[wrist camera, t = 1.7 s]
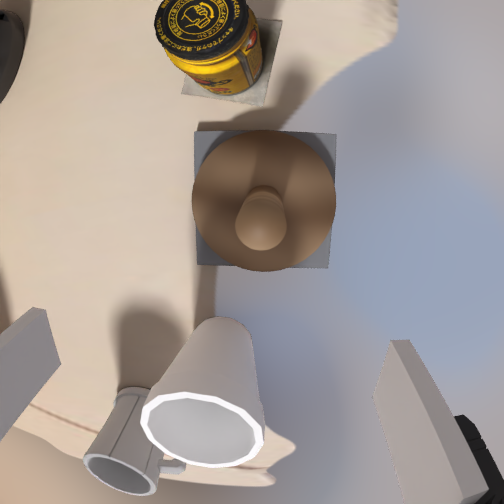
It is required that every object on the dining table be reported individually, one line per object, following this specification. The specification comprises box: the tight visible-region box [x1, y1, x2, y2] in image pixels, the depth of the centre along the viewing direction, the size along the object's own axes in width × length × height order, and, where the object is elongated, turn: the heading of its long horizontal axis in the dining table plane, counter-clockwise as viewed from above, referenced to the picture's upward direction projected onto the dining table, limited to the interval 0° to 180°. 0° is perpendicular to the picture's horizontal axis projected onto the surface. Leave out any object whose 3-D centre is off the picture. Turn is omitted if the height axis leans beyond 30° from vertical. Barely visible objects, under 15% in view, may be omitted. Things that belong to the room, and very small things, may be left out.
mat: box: [194, 131, 336, 268], centre depth 28 cm, size 12×12×1 cm
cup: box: [83, 387, 186, 496], centre depth 32 cm, size 10×9×12 cm
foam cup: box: [140, 316, 265, 468], centre depth 27 cm, size 10×9×13 cm
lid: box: [192, 130, 336, 272], centre depth 23 cm, size 12×12×9 cm
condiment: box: [154, 0, 282, 107], centre depth 19 cm, size 7×8×12 cm
